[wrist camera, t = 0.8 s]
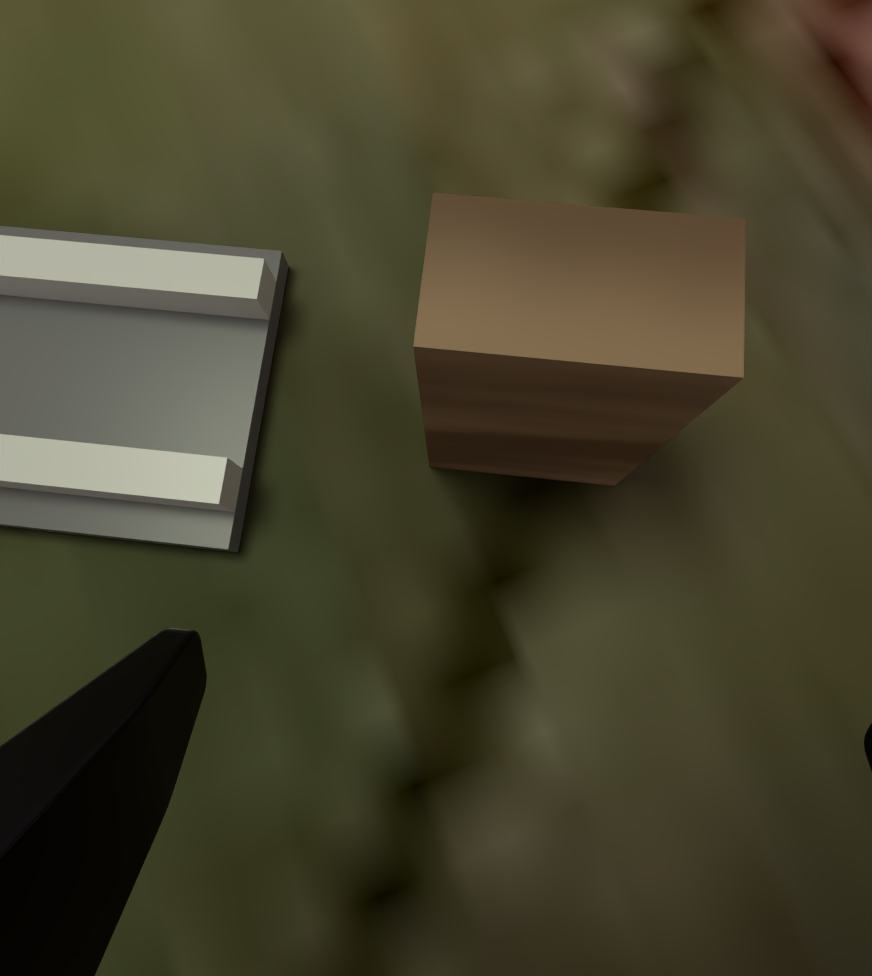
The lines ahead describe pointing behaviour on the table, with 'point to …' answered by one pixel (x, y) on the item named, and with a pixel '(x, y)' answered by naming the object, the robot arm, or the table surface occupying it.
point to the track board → (133, 384)
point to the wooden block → (572, 333)
